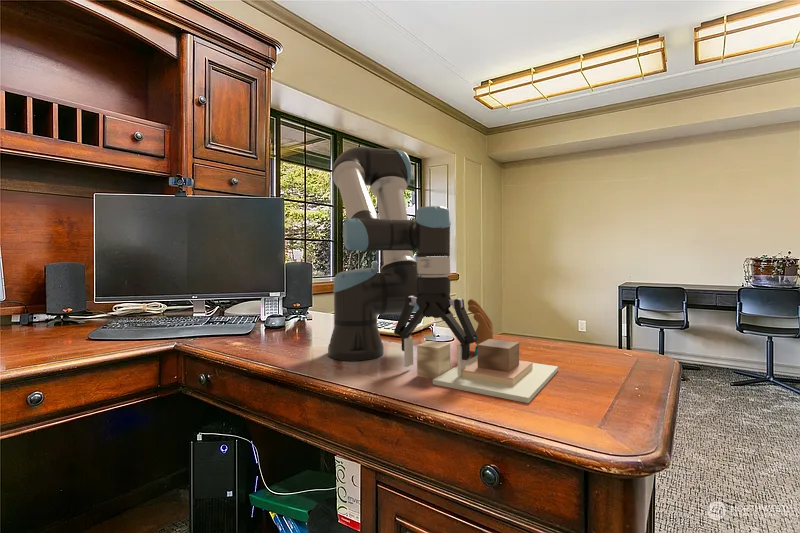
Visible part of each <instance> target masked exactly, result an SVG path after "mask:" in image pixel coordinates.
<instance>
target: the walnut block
mask: <svg viewBox="0 0 800 533" xmlns="http://www.w3.org/2000/svg"><path fill="white" fill-rule="evenodd" d="M519 360H520V342H519V341H510V340H501V339H495V338H493V339H488V340H486V341H484V342H482V343H480V344H478V368H484V369H491V370H497V371H503V372H510V371H511V370H513V369H514V368H515V367H517V366H518V365H519Z"/></svg>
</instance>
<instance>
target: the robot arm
mask: <svg viewBox="0 0 800 533" xmlns="http://www.w3.org/2000/svg"><path fill="white" fill-rule="evenodd" d="M331 175H332V180H333V182H334V185H335V186H336V187H337V188H338V189H339V194H340V196H341V200H342V204H343V207H344V210H345V214H346V218H347V219H345V220H344V221H343V226H342V238H343V240H342V241H343V245H344V248H345V249H346V250H348V251H359V252H365V251H369V252H372V251H373V252H374V251H375V252H376V251H382V253H383V261H384V264H383V265H382V266H381V267H380V272H378V270H377V268H376V267H366V268H365V267H364V268H356V269H349V270H345V271H340V272H337V273H336V274H335V276H334V277H333V278H334V279H333V289H332V293H333V320H334V322H333V330H332V333H331V336H330V341H329V344H328V346H327V356H328V357H329V358H331V359H333V360H338V361H346V362H348V361H349V362H350V361H352V362H356V361H358V362H359V361H368V360H373V359H377V358H380V357H381V356H383V355H384V353H385V352H384V349H385V347H384V343H383V341H382V338H381V335H380V334H381V333H380V331H379V327H378V315H397V314H398V315H399V314H400V317H399V319H398V320H397V324H396V325H395V328H394V329H393V330H394V331H393V333H394V335H396V336H397V335H398V336H400V338H401V340H400V341H401V351H402V352H404V354H403V355H404V357H403V358H404V359H403V360H404V363H403V365H404V367H405V368H408V367H410V366H413V365H414V336H412V334H413V332H414V331H415V330H416V328H417V327H418V326H419V325H420V323H421V322H422V320H423V319H425V318H434V319H439V318H440V319H441V320H442V321H444V323H445V324H446V325H447V327H448V328H449V329H450V331H451V333H452V334H453V335H454V336H455V337H456V339H457V341H458V342H459V343H460V344H458V345H457V351H456V352H457V354H456V355H457V359H456V360H457V366H458V376H462V370H463V369H465V368H466V361H467V360H469V359H470V357H471V355H470V354H471V353H470V349H471V348H470V347H471V344H474V343H475V342H476V341H478V337H477V334H476V332H475V331H476V329H475V328H474V326H473V324H472V322H471V320H470V317H469V315H468V313H467V311H466V308H465V301H464V300H465V299H464V298H463V297H459V298H455V299H452V298H451V277H449V276H448V275H450V274H451V221H450V220H451V219H450V210H449V209H448V207H445V206H439V205H435V206H434V205H433V206H432V205H430V206H421V207H418V208H417V210H416V213H415V214H416V215H415V219H408V213H407V207H406V200H405V195H404V193H405V191H406V190H407V188H408V186H409V185H410V183H411V180H412V163H411V160H410V157H409V155H408V154H407V152H405V151H404V150H401V149H395V148H389V149H388V148H378V147H376V148H375V147H365V146H363V147H362V146H357V147H356V146H355V147H351V148H348V149H347V150H345V151H344V152H342V153H341V154H339V155H338V156H337V158H336V160H335V161H334V163H333V165H332V168H331ZM367 186H369V187H370V192H371V194H373V195H374V196H375V197H376V202H377V204H376V205H377V211H376V208H375V206H374V202H373V200H372V198H371V195H370V192H369V189H368V187H367ZM377 212H378V213H377ZM414 252H416V260H415V259H414V258H415V257H414ZM451 306H452V308H453V310H454V312H455V314H456V317H457V318H458V320H456V318H455V316H454V314H453V312H452V311H451V310H450V308H451ZM412 313H414V315H413V317H412V316H411V315H412ZM410 317H412V318H411V320H410V321H409V319H410ZM458 321H459V322H458ZM408 322H409V323H408Z"/></svg>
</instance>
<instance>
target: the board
mask: <svg viewBox="0 0 800 533" xmlns="http://www.w3.org/2000/svg"><path fill="white" fill-rule="evenodd" d="M558 372H559V366H557V365H550V364H545V363H537V362H532V361H527V360H526V361H525V360H520V359H519V365H518V366H517V367H515V368H514V369H513V370H511V371H510V372H503V371H497V370H491V369H484V368H478V355H474V356H473V357H471V358H469V359H468V360H466V368H465V369H463V370H462V376H458V365H457V366H455V367H453V368H450V370H449V371H447V372H445V373H444V374H442V375H440V376H438V377H436V378H435V379H432V385H435V386H440V387H445V388H449V389H455V390H460V391H466V392H471V393H474V394H475V393H476V394H480V395H486V396H491V397H496V398H501V399H506V400H511V401H514V402H520V403H525V404H529V403H530V402H531V401H532V400H533V399H534V398H535V397H536V396H537V394H538V393H539V392H540V391H541V390H542V389H543V388H544V387H545V386H546V385H547V384H548V382H550V380H551V379H553V377H554V376H555V375H556V374H557V373H558Z"/></svg>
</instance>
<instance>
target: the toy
mask: <svg viewBox="0 0 800 533" xmlns="http://www.w3.org/2000/svg"><path fill="white" fill-rule="evenodd" d="M467 305H468V308H467V310H468V311H469V312H470V313H472V315H473V319H474V320H475V322H477V327H476V329H475V332H476V334H477V337H478V341H476V342H474V343H475V345H476V346H475V347H474V354H475V355H474V356H476V355H478V344H480V343H482V342H484V341H486V340H488V339H494V335H493V334H494V333H493V332H494V331H493V329H494V326H493V321H492V320H491V319H490V317H489V316H488V315H487V313H486V312H485V310H484V309H483V307H482V306H481V305H480V304H479V303H478V302H477V301H476V300H474V299H473V298H471V299H470V298H469V299H468V300H467Z"/></svg>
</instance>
